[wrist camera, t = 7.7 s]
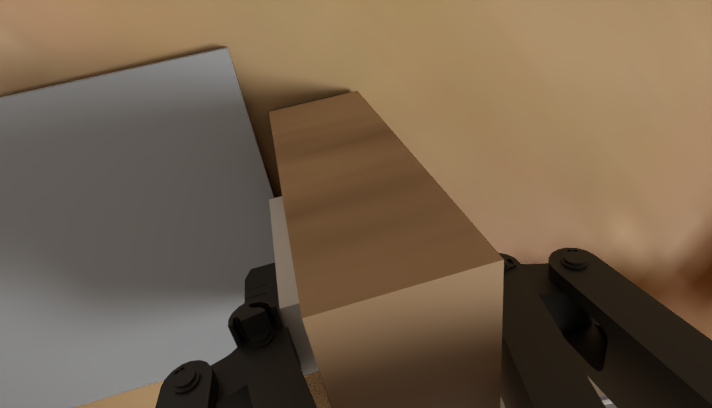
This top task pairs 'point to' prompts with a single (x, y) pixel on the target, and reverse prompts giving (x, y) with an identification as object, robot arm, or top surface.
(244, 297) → the robot arm
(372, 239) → the walnut slab
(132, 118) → the felt mat
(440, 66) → the top surface
